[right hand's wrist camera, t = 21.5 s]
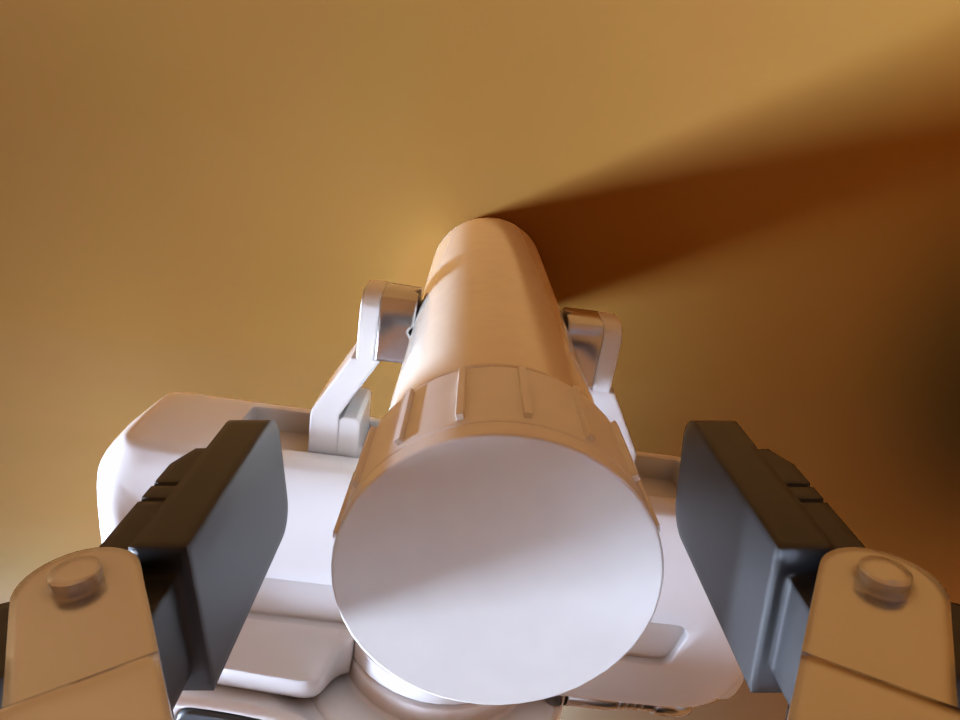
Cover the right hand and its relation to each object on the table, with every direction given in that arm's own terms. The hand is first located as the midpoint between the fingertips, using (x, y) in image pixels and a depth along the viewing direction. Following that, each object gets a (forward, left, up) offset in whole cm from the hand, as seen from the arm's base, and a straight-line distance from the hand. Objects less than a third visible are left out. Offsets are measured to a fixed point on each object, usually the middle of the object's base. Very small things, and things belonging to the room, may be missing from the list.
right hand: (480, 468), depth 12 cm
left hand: (-1, -1, -7) cm, 7 cm away
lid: (0, 0, +2) cm, 3 cm away
